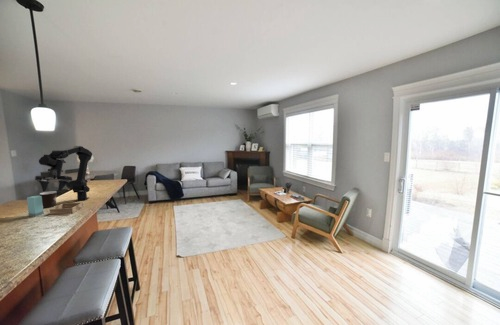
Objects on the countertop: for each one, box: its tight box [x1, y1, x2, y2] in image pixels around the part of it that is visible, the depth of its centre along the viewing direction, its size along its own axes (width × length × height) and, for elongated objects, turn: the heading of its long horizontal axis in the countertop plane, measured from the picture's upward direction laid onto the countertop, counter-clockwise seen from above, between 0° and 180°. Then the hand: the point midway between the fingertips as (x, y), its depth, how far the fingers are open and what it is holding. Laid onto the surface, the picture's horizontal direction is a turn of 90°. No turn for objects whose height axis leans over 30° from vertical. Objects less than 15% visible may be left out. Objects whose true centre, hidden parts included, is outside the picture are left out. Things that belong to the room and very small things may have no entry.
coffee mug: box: [39, 190, 58, 209], centre depth 146 cm, size 12×9×10 cm
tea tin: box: [26, 195, 45, 218], centre depth 128 cm, size 5×5×12 cm
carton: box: [47, 202, 85, 217], centre depth 136 cm, size 18×12×4 cm
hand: (51, 191), depth 134 cm, fingers open, 9 cm apart
